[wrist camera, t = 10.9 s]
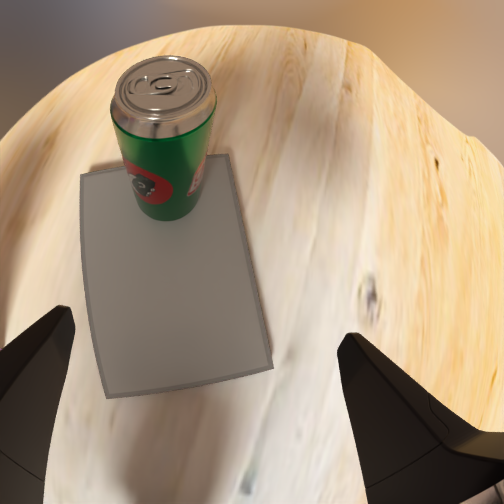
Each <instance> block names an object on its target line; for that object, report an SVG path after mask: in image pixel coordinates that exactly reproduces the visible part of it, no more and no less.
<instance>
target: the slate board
mask: <svg viewBox="0 0 504 504" xmlns="http://www.w3.org/2000/svg"><path fill="white" fill-rule="evenodd" d="M80 243H81V259H82V271H83V281H84V290H85V298H86V306H87V313H88V319H89V325H90V331H91V336H92V341H93V347H94V351H95V356H96V361H97V365H98V369H99V373H100V377H101V381H102V385H103V389H104V392H105V396H106V399H112V398H122V397H132V396H140V395H148V394H155V393H162V392H168V391H175V390H181V389H186V388H192V387H197V386H202V385H208V384H212V383H217V382H222V381H226V380H231V379H235V378H239V377H244V376H248V375H252V374H256V373H260V372H263V371H267V370H271V369H274V366H273V361H272V357H271V352H270V348H269V343H268V338H267V334H266V329H265V324H264V320H263V315H262V310H261V306H260V301H259V296H258V292H257V287H256V282H255V278H254V273H253V268H252V263H251V259H250V254H249V249H248V245H247V240H246V235H245V231H244V226H243V221H242V216H241V212H240V207H239V202H238V197H237V193H236V188H235V183H234V179H233V174H232V169H231V164H230V159H229V155H228V154H218V155H206V160H205V166H204V171H203V177H202V183H201V189H200V195H199V199H198V202H197V204H196V206H195V207H194V208H193V210H192V211H191V212H190V213H189V214H187V215H186V216H184V217H182V218H180V219H178V220H174V221H165V222H164V221H158V220H154V219H152V218H150V217H148V216H147V215H146V214H145V213H143V212H142V210H141V209H140V208H139V206H138V204H137V201H136V198H135V195H134V192H133V189H132V186H131V183H130V180H129V177H128V174H127V171H126V167H125V166H122V167H116V168H111V169H105V170H100V171H95V172H90V173H85V174H80Z"/></svg>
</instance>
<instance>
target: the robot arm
mask: <svg viewBox="0 0 504 504" xmlns="http://www.w3.org/2000/svg"><path fill="white" fill-rule="evenodd" d="M74 335H75V323H74V319H73V315H72V311H71V309H70V307H68V306H63V305H58V306H56V307H55V308H53V309H52V310H51V311H49V312H48V313H47V314H45V315H44V316H43V317H41V318H40V319H39V320H38V321H36V322H35V323H34V324H32V325H31V326H30V327H29V328H27V329H26V330H25V331H24V332H22V333H21V334H20V335H19V336H17V337H16V338H15V339H14V340H12V341H11V342H10V343H9V344H8V345H6V346H5V347H4V348H3V349H2V350H0V504H43V497H44V486H45V476H46V468H47V461H48V454H49V448H50V443H51V437H52V432H53V427H54V423H55V418H56V414H57V409H58V405H59V401H60V397H61V393H62V390H63V386H64V382H65V379H66V375H67V370H68V365H69V359H70V354H71V349H72V344H73V340H74ZM337 357H338V363H339V370H340V376H341V383H342V389H343V394H344V398H345V402H346V406H347V410H348V414H349V418H350V422H351V426H352V431H353V435H354V439H355V443H356V448H357V452H358V457H359V461H360V466H361V470H362V475H363V480H364V485H365V491H366V496H367V501H368V504H504V432H485V431H481V430H478V429H476V428H475V427H473V426H472V425H470V424H469V423H467V422H466V421H465V420H463V419H462V418H461V417H459V416H458V415H456V414H455V413H454V412H452V411H451V410H450V409H448V408H447V407H446V406H444V405H443V404H442V403H441V402H439V401H438V400H437V399H436V398H435V397H434V396H432V395H431V394H430V393H428V392H427V391H426V390H425V389H424V388H423V387H422V386H421V385H419V384H418V383H417V382H416V381H415V380H414V379H412V378H411V377H410V376H409V375H408V374H407V373H405V372H404V371H403V370H402V369H401V368H400V367H398V366H397V365H396V364H395V363H394V362H393V361H391V360H390V359H389V358H388V357H387V356H386V355H384V354H383V353H382V352H381V351H380V350H378V349H377V348H376V347H375V346H374V345H373V344H371V343H370V342H369V341H368V340H367V339H366V338H364V337H363V336H362V335H361V334H360V333H347V334H346V335H345V337H344V339H343V340H342V342H341V344H340V345H339V347H338V350H337Z"/></svg>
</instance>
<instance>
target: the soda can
mask: <svg viewBox="0 0 504 504" xmlns="http://www.w3.org/2000/svg"><path fill="white" fill-rule="evenodd" d="M216 104H217V96H216V92H215V90H214V88H213V86H212V82H211V78H210V75H209V73H208V72H207V71H206V69H205V68H204V67H203V66H201V65H200V64H199V63H197V62H195V61H193V60H191V59H188V58H185V57H180V56H157V57H153V58H149V59H146V60H143V61H141V62H139V63H137V64H135V65H133V66H132V67H130V68H129V69H128V70H126V71H125V72H124V73H123V74H122V76H121V77H120V78H119V80H118V82H117V85H116V88H115V94H114V96H113V98H112V101H111V105H110V113H111V118H112V122H113V126H114V129H115V133H116V137H117V140H118V144H119V147H120V151H121V154H122V157H123V161H124V164H125V167H126V171H127V174H128V177H129V180H130V183H131V186H132V189H133V192H134V195H135V198H136V201H137V204H138V206H139V208H140V209H141V210H142V212H143V213H145V214H146V215H147V216H148V217H150V218H152V219H154V220H158V221H164V222H165V221H174V220H178V219H180V218H182V217H184V216H186V215H187V214H189V213H190V212H191V211H192V210H193V208H194V207H195V206H196V204H197V202H198V199H199V195H200V189H201V183H202V177H203V171H204V166H205V160H206V155H207V149H208V144H209V139H210V134H211V129H212V124H213V119H214V114H215V109H216Z"/></svg>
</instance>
